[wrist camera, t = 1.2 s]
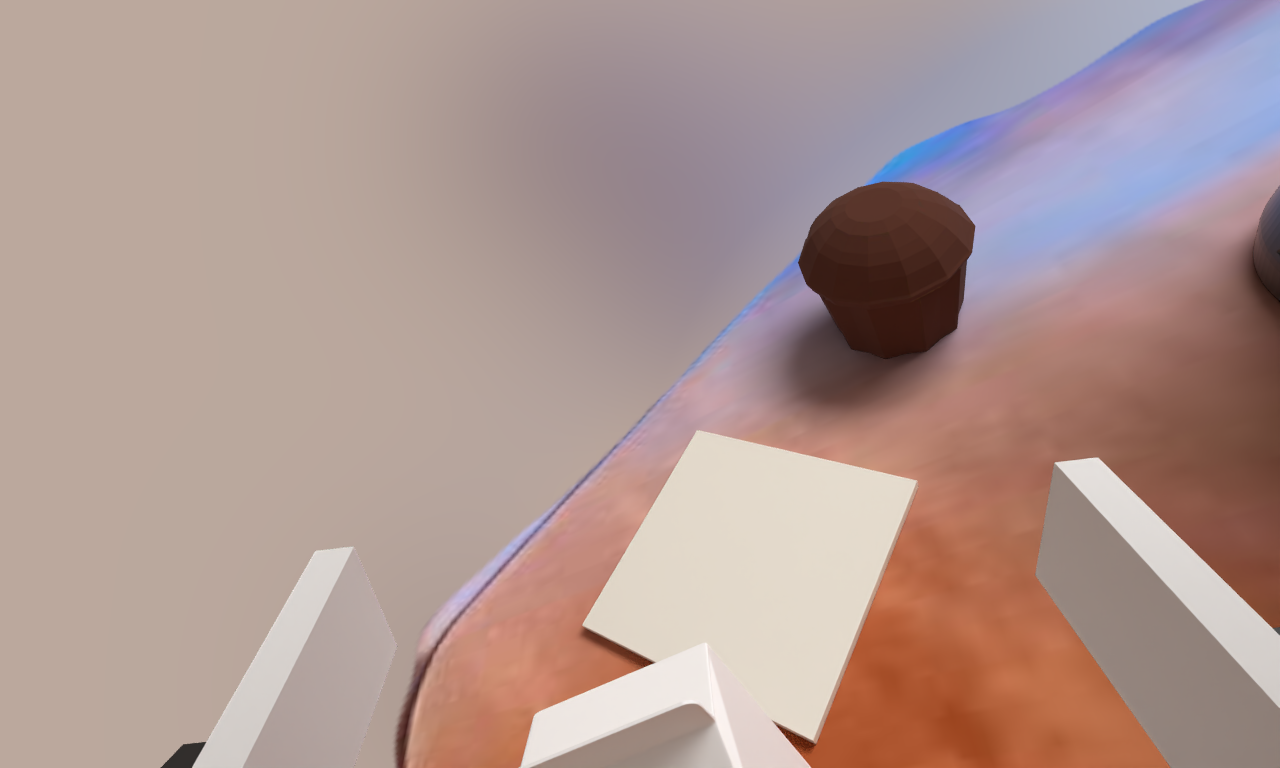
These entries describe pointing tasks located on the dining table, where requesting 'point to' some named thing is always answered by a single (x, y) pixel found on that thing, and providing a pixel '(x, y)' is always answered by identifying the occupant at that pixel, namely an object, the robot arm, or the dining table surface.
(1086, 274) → the dining table surface
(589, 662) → the dining table surface
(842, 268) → the muffin
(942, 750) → the dining table surface
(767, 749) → the milk
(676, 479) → the mat
